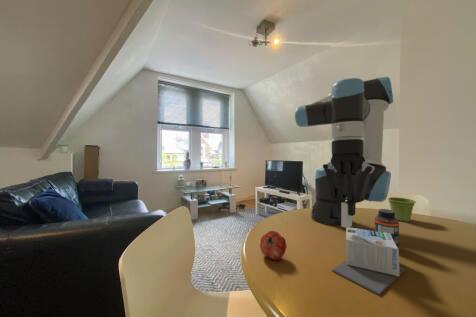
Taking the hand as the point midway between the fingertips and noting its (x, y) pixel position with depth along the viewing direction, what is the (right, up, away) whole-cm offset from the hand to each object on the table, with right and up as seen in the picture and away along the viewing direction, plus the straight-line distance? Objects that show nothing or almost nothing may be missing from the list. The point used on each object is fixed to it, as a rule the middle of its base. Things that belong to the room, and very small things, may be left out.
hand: (346, 226), depth 53 cm
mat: (+3, -10, -5) cm, 11 cm away
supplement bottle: (+17, -9, +8) cm, 21 cm away
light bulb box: (0, -6, +1) cm, 6 cm away
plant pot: (+42, -8, +32) cm, 53 cm away
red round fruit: (-20, -10, +3) cm, 22 cm away
